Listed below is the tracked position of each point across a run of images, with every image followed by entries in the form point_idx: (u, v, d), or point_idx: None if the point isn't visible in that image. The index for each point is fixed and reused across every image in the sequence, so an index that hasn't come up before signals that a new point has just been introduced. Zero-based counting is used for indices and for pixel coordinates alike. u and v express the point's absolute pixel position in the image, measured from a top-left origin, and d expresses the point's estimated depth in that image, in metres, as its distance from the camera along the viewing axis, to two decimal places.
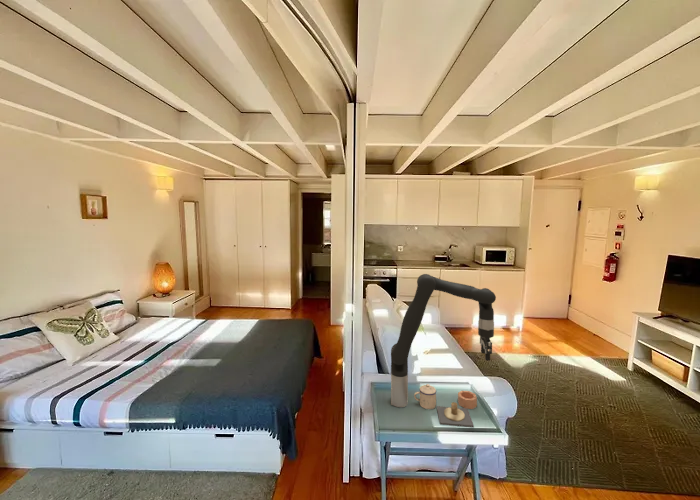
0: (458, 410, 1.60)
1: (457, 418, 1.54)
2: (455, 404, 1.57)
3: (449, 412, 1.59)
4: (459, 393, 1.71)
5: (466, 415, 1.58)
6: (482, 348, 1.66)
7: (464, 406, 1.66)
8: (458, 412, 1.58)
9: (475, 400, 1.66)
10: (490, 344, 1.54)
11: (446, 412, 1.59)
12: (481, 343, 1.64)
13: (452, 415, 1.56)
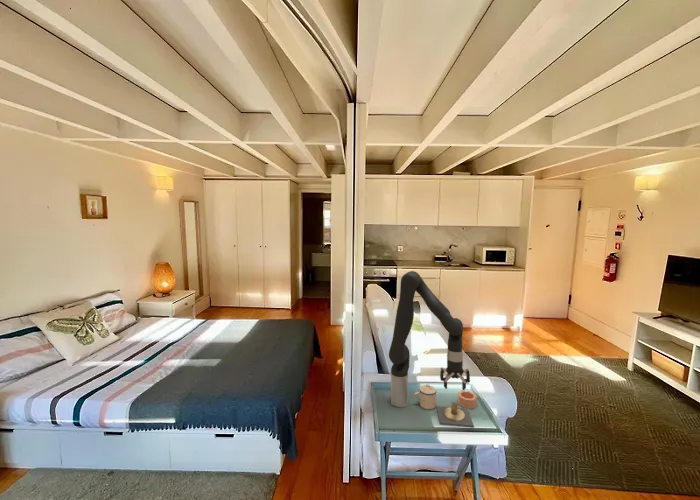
0: (458, 410, 1.60)
1: (457, 418, 1.54)
2: (455, 404, 1.57)
3: (449, 412, 1.59)
4: (459, 393, 1.71)
5: (466, 415, 1.58)
6: (446, 383, 1.57)
7: (464, 406, 1.66)
8: (458, 412, 1.58)
9: (475, 400, 1.66)
10: (468, 371, 1.55)
11: (446, 412, 1.59)
12: (449, 378, 1.55)
13: (452, 415, 1.56)
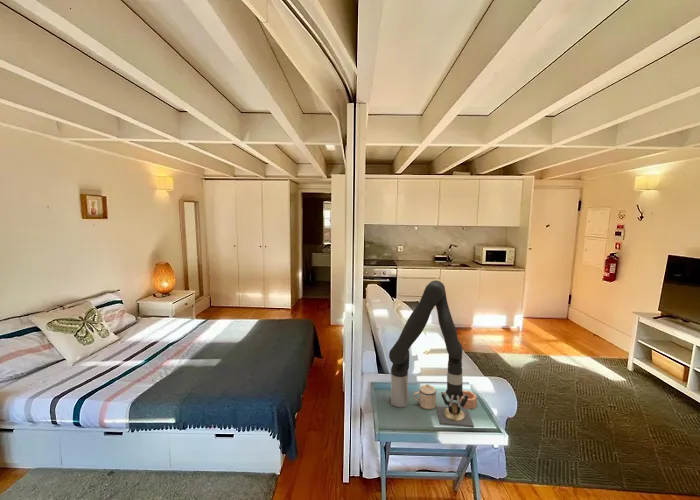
0: None
1: (457, 418, 1.54)
2: (455, 404, 1.57)
3: (449, 412, 1.59)
4: None
5: (466, 415, 1.58)
6: (451, 407, 1.57)
7: (464, 406, 1.66)
8: None
9: (475, 400, 1.66)
10: None
11: (446, 412, 1.59)
12: (452, 401, 1.56)
13: (452, 415, 1.56)
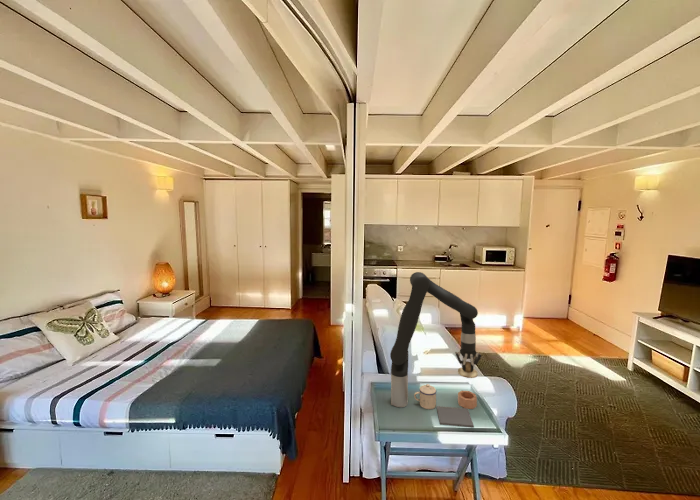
0: None
1: (471, 375, 1.63)
2: (468, 363, 1.67)
3: (463, 371, 1.68)
4: (459, 393, 1.71)
5: (466, 415, 1.58)
6: None
7: (464, 406, 1.66)
8: None
9: (475, 400, 1.66)
10: None
11: (460, 371, 1.68)
12: None
13: (466, 373, 1.66)
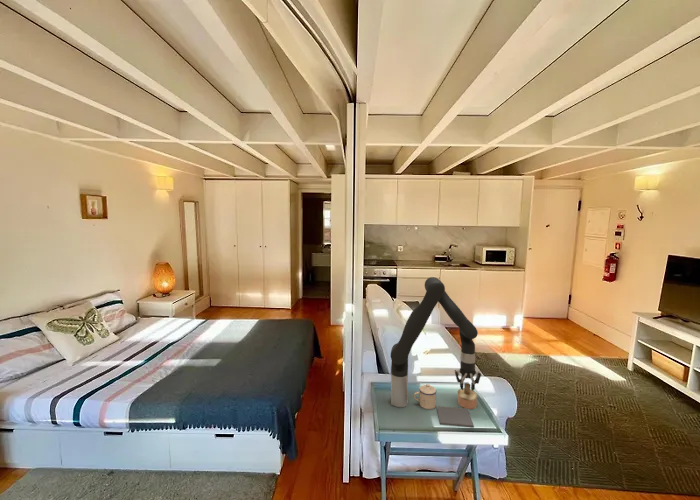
0: (470, 391, 1.71)
1: (470, 397, 1.65)
2: (468, 385, 1.68)
3: (462, 392, 1.70)
4: None
5: (466, 415, 1.58)
6: None
7: (464, 406, 1.66)
8: (471, 392, 1.69)
9: (475, 400, 1.66)
10: None
11: (459, 392, 1.70)
12: (464, 379, 1.67)
13: (465, 395, 1.67)
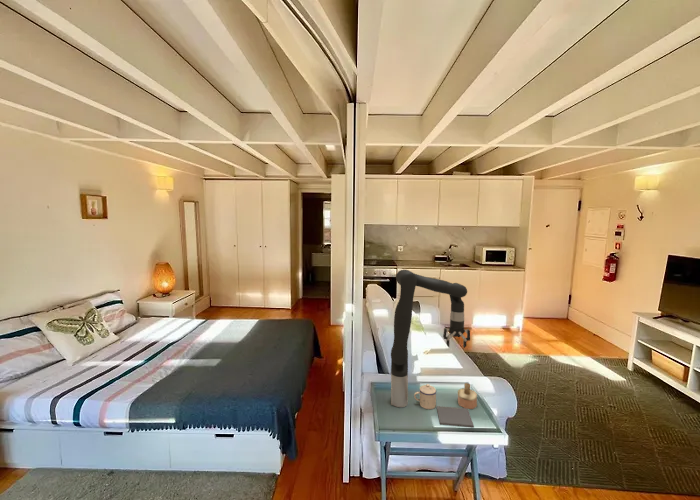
0: (470, 391, 1.71)
1: (470, 397, 1.65)
2: (468, 385, 1.68)
3: (462, 392, 1.70)
4: None
5: (466, 415, 1.58)
6: None
7: (464, 406, 1.66)
8: (471, 392, 1.69)
9: (475, 400, 1.66)
10: None
11: (459, 392, 1.70)
12: (451, 336, 1.72)
13: (465, 395, 1.67)
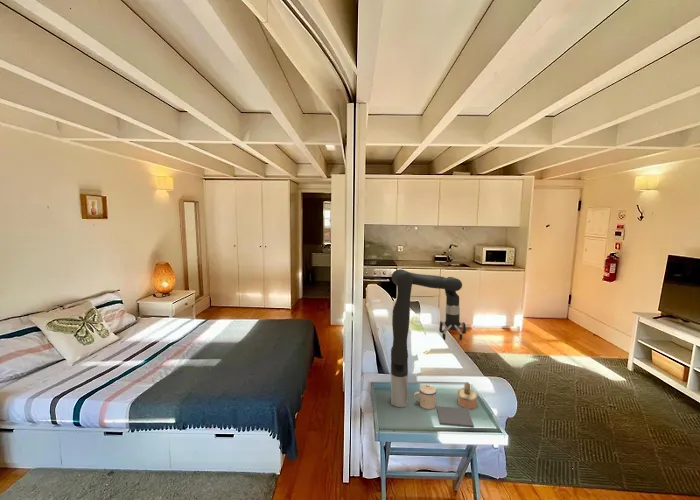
0: (470, 391, 1.71)
1: (470, 397, 1.65)
2: (468, 385, 1.68)
3: (462, 392, 1.70)
4: None
5: (466, 415, 1.58)
6: None
7: (464, 406, 1.66)
8: (471, 392, 1.69)
9: (475, 400, 1.66)
10: (464, 324, 1.74)
11: (459, 392, 1.70)
12: (447, 330, 1.74)
13: (465, 395, 1.67)
